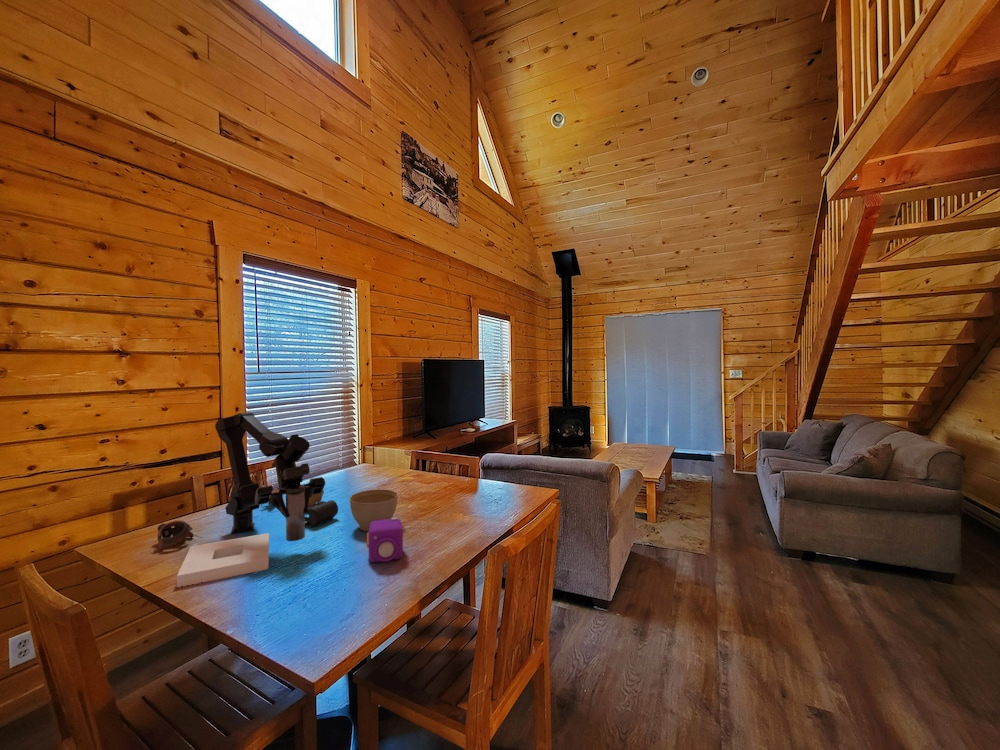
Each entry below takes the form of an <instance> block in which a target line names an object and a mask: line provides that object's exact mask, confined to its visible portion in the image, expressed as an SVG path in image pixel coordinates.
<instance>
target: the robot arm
mask: <svg viewBox="0 0 1000 750" xmlns="http://www.w3.org/2000/svg"><path fill="white" fill-rule="evenodd" d="M214 427H215V430H216V433H217V435H218V438H219V439H220V440H221V441H222V442H224V444H225V446H226V450H227V454H228V455H227V456H228V460H229V465H230V468H231V469H230V470H231V474H232V479H233V487H232V489H231V492H230V501H229V502H228V504H227V505H225V512H226V515H230V516H232V523H233V524H232V528H231V531H230V533H231V534H237V533H243V532H249V531H254V530H255V525H256V524H255V522H254V519H253V518H254V514H253V512H254V510H257V509H258V510H259V508H260V507H261V504H262V505H265V504H268V505H269V506H273V507H274V508H275V509H277V510H278V511H279V512H280V514H282V516H283V517H284V518H285V519H286V518H287V517H288V514H287V510H286V502H284V500H285V499H284V497H283V496H284V495H286V493H285V488H286V487H289V486H293V485H304V486H305V515H308V514H307V511H308V504H309V498H310V497H312V495H314V494H319V493H321V492H322V491H324V488H325V486H326V484H327V483H326V480H325V478H323V476H320V477H314V478H310V479H309V481H308V483H309V484H307V483H303V478H304V477H305V476H306V475H309V474H310V472H311V471H310V466H309V463H308V462H307V463H306V462H305V463H302V464H301V465H299V466H297V464H296V462H298V461H300V460H301V458H303V456H304V455H305V454H306V453H307V451H308V450H309V449H310V446H311V445H310V442H309V441H308V439H305V438H304V437H301V436H299V434H298V433H297V434H291V435H290V437H289V439H288V438H287V436H285V435H282V434H281V433H277V432H274V431H271V430H270V429H269V428H268V427H267V426H266V425H265V424H264V423H262V422H261V421H260V420H259V419H258V418H257V417H255V415H254V413H253V412H249V411H248V412H238V413H237V414H233V415H231V416H227V417H220V418H218V420H217V421H216V422H215V426H214ZM246 432H247V433H248V434H249V435H250V436H251V437H252V438H253V439H254V440H255V441H256V442H257V443H258V444H259V445H258V449H259V451H260V452H261V453H262V454H263V456H264V457H266V458H269V457H275V456H276V457H275V458H274V459H273V462H272V464H271V467H272V468H275V473H276V476H277V483H278V487H273V485H272V484H271V485H270V486H268V485H263V486H264V487H263V486H260V484H259V482H256V483H255V482H254V481H253V480H252V479H251V475H250V469H249V464H248V460H247V456H246V455H247V454H246V450H245V446H244V441H243V440H244V438H245V435H246ZM301 483H303V484H301ZM283 499H284V500H283Z"/></svg>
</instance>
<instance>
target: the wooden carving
mask: <svg viewBox="0 0 1000 750" xmlns="http://www.w3.org/2000/svg"><path fill="white" fill-rule="evenodd" d="M306 484H309V482H307V483H306ZM324 493H325V491H324V490H323V491H322V492H321V493H319V494H314V495H312V497H310V498H309V504H308V506H316V505H317V504H316V503H318V502H320V501H322V499H323V495H324Z"/></svg>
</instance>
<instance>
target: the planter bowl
mask: <svg viewBox="0 0 1000 750" xmlns="http://www.w3.org/2000/svg"><path fill="white" fill-rule="evenodd" d="M398 497H399V493H398V492H397V491H394V490H391V489H384V488H383V489H380V488H379V489H367V490H361V491H359V492H355V493H354V494H352V495H351V496H350V497H349V503H350V510H351V514H352V516H353V518H354V521H355V522H356V523H357V524H358V526H359V529H360V530H361V531H364V532H369V525H370V523H371V522H373V521H377V520H387V519H391V518H393V517H394V514H395V512H396V510H397V505H398V499H399V498H398Z"/></svg>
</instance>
